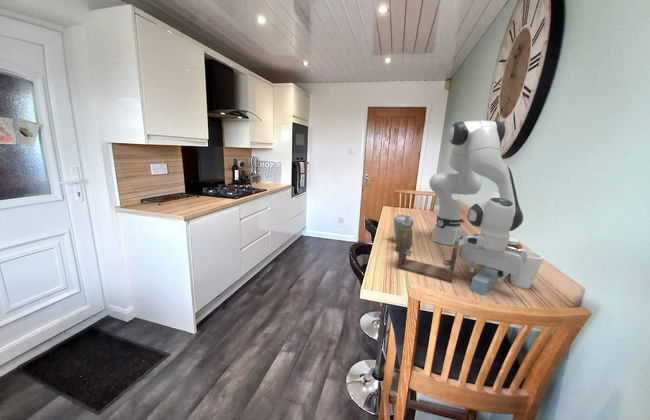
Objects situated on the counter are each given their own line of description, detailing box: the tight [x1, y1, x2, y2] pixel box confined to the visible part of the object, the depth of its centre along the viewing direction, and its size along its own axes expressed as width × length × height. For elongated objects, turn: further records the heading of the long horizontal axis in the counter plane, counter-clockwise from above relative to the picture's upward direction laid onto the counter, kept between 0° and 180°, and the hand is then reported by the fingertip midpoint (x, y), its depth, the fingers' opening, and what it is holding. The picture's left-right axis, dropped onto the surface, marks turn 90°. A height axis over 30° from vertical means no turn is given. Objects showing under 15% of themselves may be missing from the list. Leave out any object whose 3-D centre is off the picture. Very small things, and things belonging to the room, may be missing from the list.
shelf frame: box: [396, 231, 459, 284], centre depth 105 cm, size 21×10×14 cm, turn 60°
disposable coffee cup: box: [393, 214, 415, 242], centre depth 137 cm, size 11×11×15 cm
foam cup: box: [509, 248, 545, 289], centre depth 98 cm, size 10×9×13 cm
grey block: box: [469, 266, 499, 296], centre depth 96 cm, size 16×4×5 cm, turn 133°
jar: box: [483, 236, 523, 277], centre depth 109 cm, size 12×12×15 cm
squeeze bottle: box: [395, 215, 414, 252], centre depth 125 cm, size 8×8×18 cm
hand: (485, 276), depth 95 cm, fingers open, 8 cm apart
